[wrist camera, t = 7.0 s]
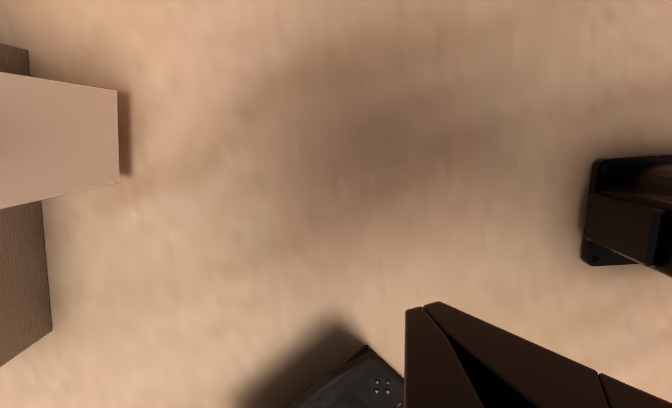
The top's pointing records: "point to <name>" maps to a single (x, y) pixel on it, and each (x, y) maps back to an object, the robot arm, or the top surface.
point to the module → (55, 138)
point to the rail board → (21, 258)
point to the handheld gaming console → (356, 385)
